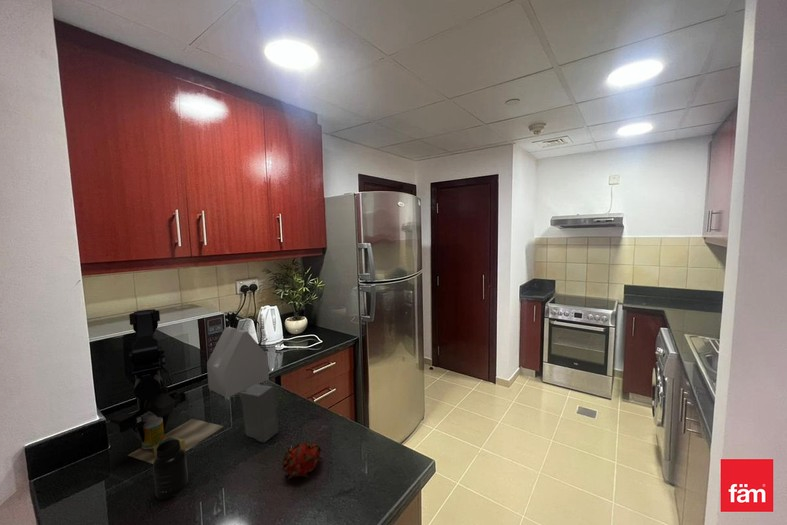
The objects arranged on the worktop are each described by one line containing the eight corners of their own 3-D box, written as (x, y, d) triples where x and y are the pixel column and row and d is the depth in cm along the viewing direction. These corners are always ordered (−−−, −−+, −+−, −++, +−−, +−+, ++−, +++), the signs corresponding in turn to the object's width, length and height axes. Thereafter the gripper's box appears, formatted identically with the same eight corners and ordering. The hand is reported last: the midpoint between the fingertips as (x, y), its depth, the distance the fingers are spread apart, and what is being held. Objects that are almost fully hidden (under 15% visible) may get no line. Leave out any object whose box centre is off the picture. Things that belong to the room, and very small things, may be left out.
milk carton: (250, 373, 152) (247, 322, 150) (268, 380, 143) (265, 326, 141) (208, 388, 136) (204, 332, 135) (226, 398, 127) (222, 338, 126)
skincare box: (279, 432, 102) (276, 385, 101) (261, 445, 96) (258, 395, 95) (260, 426, 106) (257, 381, 105) (242, 439, 99) (239, 390, 98)
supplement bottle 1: (152, 450, 92) (149, 419, 91) (137, 448, 93) (134, 417, 92) (168, 439, 97) (166, 409, 97) (154, 437, 98) (152, 408, 98)
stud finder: (154, 455, 91) (153, 443, 91) (171, 445, 96) (170, 433, 96) (168, 460, 89) (167, 447, 89) (185, 449, 94) (184, 437, 93)
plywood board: (121, 456, 93) (121, 453, 93) (186, 420, 112) (186, 417, 111) (169, 472, 85) (169, 469, 85) (230, 430, 104) (230, 427, 104)
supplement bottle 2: (166, 481, 82) (163, 437, 82) (193, 478, 83) (190, 435, 82) (148, 502, 76) (144, 455, 75) (178, 499, 76) (174, 452, 75)
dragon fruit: (278, 491, 80) (317, 471, 89) (295, 484, 75) (334, 463, 85) (270, 456, 83) (308, 439, 92) (286, 446, 79) (324, 430, 88)
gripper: (130, 406, 82) (135, 462, 84) (196, 377, 100) (200, 423, 101) (104, 400, 86) (109, 453, 87) (172, 372, 104) (176, 417, 105)
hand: (152, 436), depth 95 cm, fingers closed on supplement bottle 1, 5 cm apart
